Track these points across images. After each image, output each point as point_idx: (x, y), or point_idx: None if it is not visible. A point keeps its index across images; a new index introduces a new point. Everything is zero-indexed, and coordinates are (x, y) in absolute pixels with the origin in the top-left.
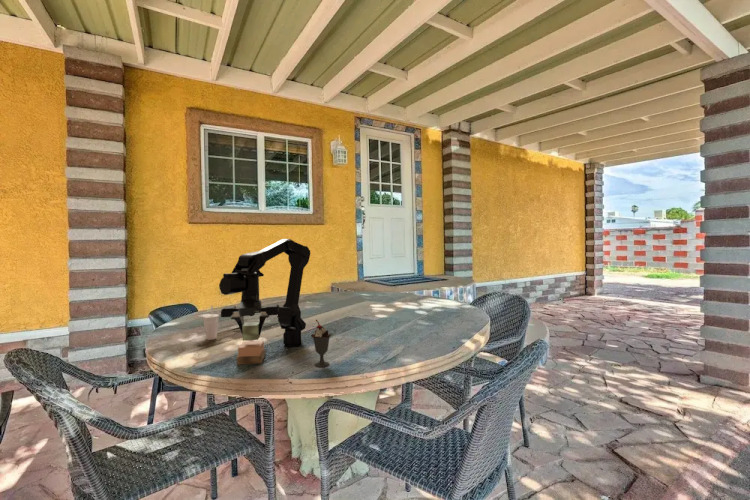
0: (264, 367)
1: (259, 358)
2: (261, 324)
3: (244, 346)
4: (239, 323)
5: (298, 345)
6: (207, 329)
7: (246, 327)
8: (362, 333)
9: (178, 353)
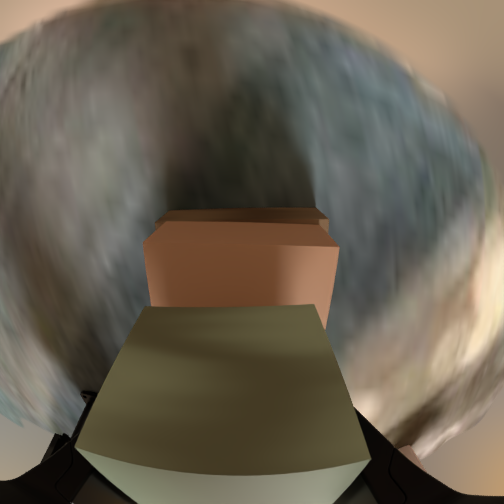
0: (136, 134)
1: (172, 217)
2: (67, 458)
3: (288, 279)
4: (411, 489)
5: (88, 393)
6: (419, 465)
7: (285, 445)
8: (8, 409)
9: (489, 354)
